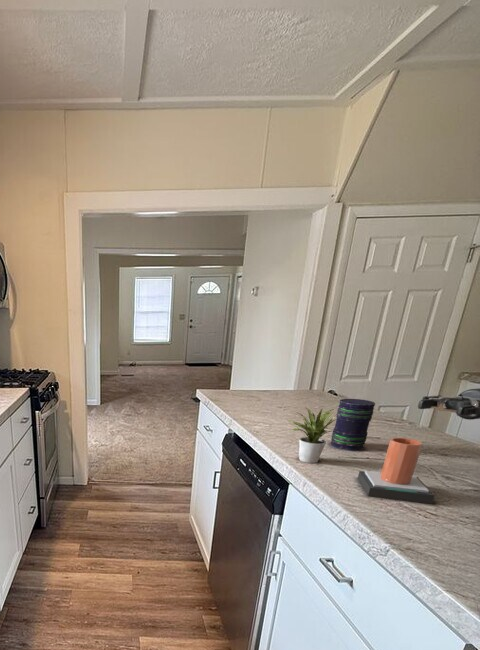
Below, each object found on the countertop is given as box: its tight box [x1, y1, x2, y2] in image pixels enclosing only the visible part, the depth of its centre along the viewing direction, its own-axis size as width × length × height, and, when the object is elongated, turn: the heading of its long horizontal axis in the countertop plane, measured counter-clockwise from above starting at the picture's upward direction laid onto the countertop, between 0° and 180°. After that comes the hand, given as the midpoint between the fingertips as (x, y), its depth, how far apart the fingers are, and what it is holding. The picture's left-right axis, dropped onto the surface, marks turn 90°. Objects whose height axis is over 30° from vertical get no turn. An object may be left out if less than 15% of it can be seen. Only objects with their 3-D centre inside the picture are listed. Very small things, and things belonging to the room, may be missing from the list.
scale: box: [357, 470, 436, 505], centre depth 100 cm, size 13×12×3 cm
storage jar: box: [329, 398, 376, 452], centre depth 131 cm, size 10×10×15 cm
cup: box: [380, 437, 424, 485], centre depth 98 cm, size 6×6×10 cm
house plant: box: [288, 406, 338, 464], centre depth 120 cm, size 14×14×16 cm
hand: (439, 407), depth 95 cm, fingers open, 8 cm apart
